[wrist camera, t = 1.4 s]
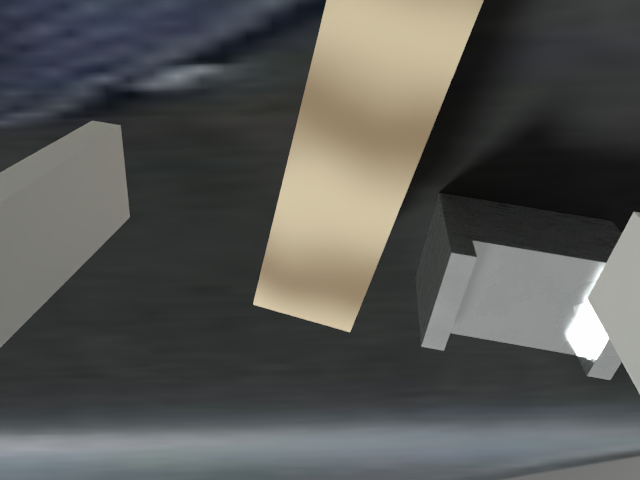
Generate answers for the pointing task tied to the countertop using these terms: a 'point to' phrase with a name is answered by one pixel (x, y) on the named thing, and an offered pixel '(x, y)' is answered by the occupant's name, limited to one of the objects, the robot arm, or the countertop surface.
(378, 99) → the rail
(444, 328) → the block
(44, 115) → the countertop surface
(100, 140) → the robot arm
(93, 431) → the countertop surface
